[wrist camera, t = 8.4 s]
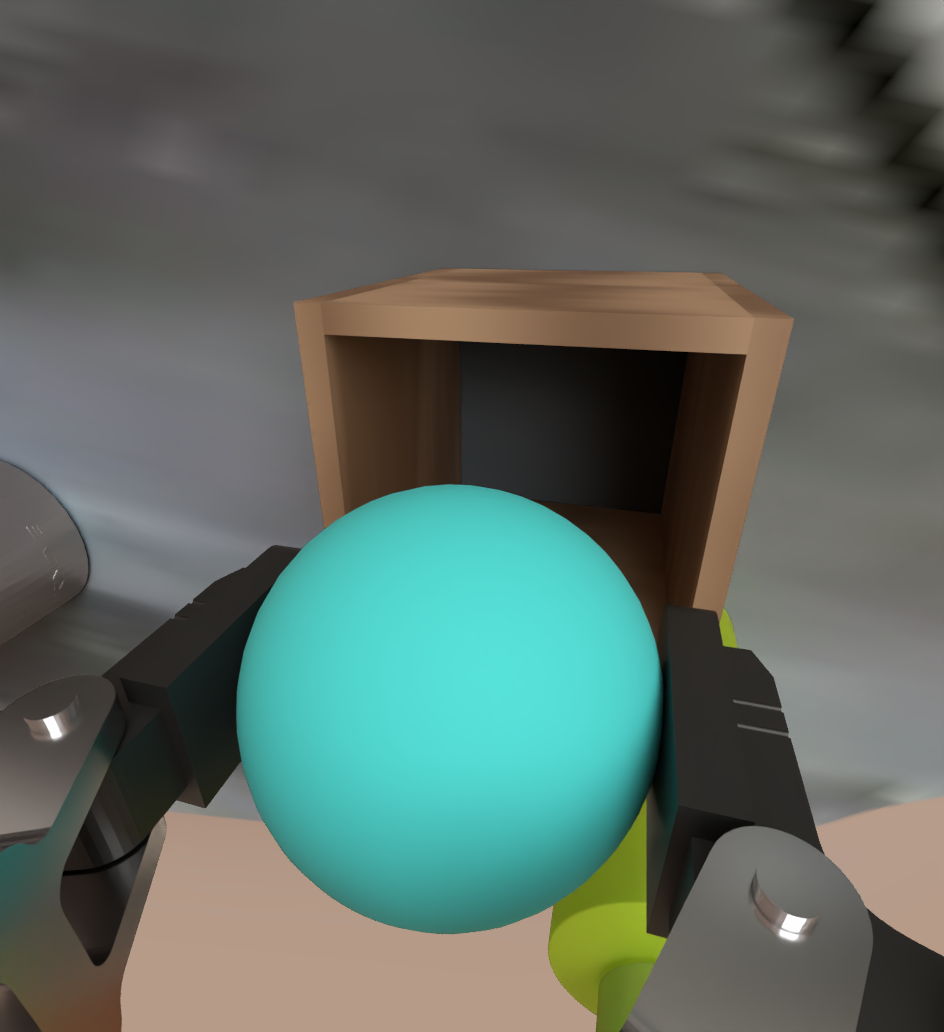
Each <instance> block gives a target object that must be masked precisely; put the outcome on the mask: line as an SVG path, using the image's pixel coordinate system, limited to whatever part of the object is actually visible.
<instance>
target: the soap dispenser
mask: <svg viewBox="0 0 944 1032" xmlns="http://www.w3.org/2000/svg"><path fill="white" fill-rule="evenodd" d="M719 625H720V631H721V636H722V642H723V646H727V647H733V648H737V643H736V639H735V634H734V630H733V626H732V623H731V620H730V618H729V616H728V614H727V612H726V611H725V609H724V608H723V612H722V616H721V620H720V624H719ZM666 940H667V939H666V938H663V937H659V936H655V935H652V934H648V933H646V799H645V801H644V804H643V806H642V808H641V810H640V813H639V815H638V816H637V818H636V820H635V822H634V823H633V825H632V827H631V829H630V830H629V832H628V833H627V835H626V836H625V838H624V839H623V841H622V842H621V843H620V845H619V846H618V848H617V849H616V851H615V852H614V853H613V854H612V855H611V856H610V858H609V859H608V860H607V861H606V862H605V863H604V864H603V865H602V866H601V867H600V868H599V869H598V870H597V871H596V872H595V873H594V874H593V875H592V876H591V877H590V878H589V879H588V880H587V881H586V882H585V883H584V884H583V885H581V886H580V887H579V888H577V889H576V890H575V891H574V892H572V893H571V894H569V895H568V896H566V897H565V898H563V899H562V900H560V901H559V902H557V903H556V904H554V905H553V913H552V921H551V928H550V936H549V944H548V954H549V960H550V964H551V966H552V969H553V971H554V973H555V975H556V977H557V978H558V980H559V981H560V983H561V984H562V985H563V987H564V988H565V989H566V990H567V991H568V992H569V993H570V995H572V996H573V997H574V998H575V999H576V1000H577V1001H578V1002H579V1003H580V1004H582V1005H583V1006H584V1007H585V1008H587V1009H588V1010H589V1011H591V1012H592V1013H594V1014H595V1015H597V1023H596V1032H619V1031H620V1030H621V1028H622V1027H623V1025H624V1024H625V1022H626V1020H627V1018H628V1016H629V1014H630V1012H631V1011H632V1009H633V1007H634V1005H635V1003H636V1001H637V998H638V996H639V994H640V992H641V990H642V988H643V986H644V984H645V982H646V980H647V978H648V976H649V974H650V972H651V970H652V968H653V966H654V964H655V962H656V960H657V958H658V956H659V954H660V952H661V950H662V948H663V946H664V944H665V942H666Z"/></svg>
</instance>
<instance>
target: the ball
mask: <svg viewBox="0 0 944 1032" xmlns="http://www.w3.org/2000/svg"><path fill="white" fill-rule="evenodd" d="M663 699H664V686H663V677H662V670H661V662H660V658H659V654H658V650H657V646H656V642H655V638H654V636H653V633H652V630H651V627H650V625H649V622H648V620H647V617H646V615H645V613H644V610H643V608H642V605H641V603H640V601H639V599H638V598H637V596H636V594H635V593H634V591H633V589H632V588H631V586H630V584H629V583H628V581H627V580H626V578H625V577H624V575H623V574H622V572H621V571H620V569H619V568H618V567H617V566H616V564H615V563H614V562H613V561H612V560H611V558H610V557H609V556H608V555H607V553H606V552H605V551H604V550H603V549H602V548H601V547H600V546H599V545H598V544H597V543H596V542H594V541H593V540H592V539H591V538H590V537H589V536H588V535H587V534H586V533H584V532H583V531H582V530H580V529H579V528H578V527H576V526H575V525H574V524H572V523H571V522H570V521H568V520H567V519H565V518H564V517H562V516H560V515H559V514H557V513H555V512H553V511H552V510H550V509H548V508H546V507H545V506H543V505H540V504H538V503H536V502H533V501H531V500H529V499H526V498H524V497H521V496H518V495H515V494H511V493H508V492H504V491H501V490H496V489H491V488H485V487H479V486H473V485H453V484H446V485H434V486H424V487H420V488H415V489H410V490H406V491H401V492H397V493H392V494H389V495H387V496H384V497H381V498H379V499H376V500H373V501H371V502H369V503H367V504H365V505H363V506H361V507H359V508H357V509H355V510H353V511H351V512H349V513H348V514H346V515H344V516H342V517H341V518H339V519H337V520H336V521H335V522H333V523H332V524H331V525H330V526H328V527H327V528H326V529H324V530H323V531H322V532H321V533H320V534H318V535H317V536H316V537H315V538H313V539H312V540H311V541H310V542H308V543H307V544H306V545H305V546H304V547H303V548H302V550H301V551H300V552H299V553H298V554H297V555H296V557H295V558H294V559H293V560H292V561H291V562H290V564H289V565H288V566H287V567H286V568H285V569H284V570H283V572H282V573H281V574H280V575H279V577H278V578H277V580H276V582H275V584H274V585H273V587H272V589H271V590H270V592H269V594H268V595H267V597H266V599H265V601H264V602H263V604H262V606H261V607H260V609H259V611H258V613H257V616H256V619H255V621H254V624H253V626H252V629H251V632H250V635H249V637H248V640H247V643H246V646H245V649H244V653H243V658H242V663H241V668H240V673H239V680H238V686H237V706H236V722H237V737H238V743H239V749H240V755H241V761H242V766H243V771H244V774H245V777H246V780H247V783H248V786H249V788H250V791H251V794H252V797H253V799H254V802H255V805H256V807H257V810H258V812H259V814H260V816H261V818H262V820H263V821H264V823H265V825H266V826H267V828H268V829H269V831H270V832H271V834H272V835H273V837H274V839H275V840H276V842H277V843H278V845H279V846H280V848H281V850H282V851H283V852H284V853H285V855H286V856H287V857H288V858H289V859H290V861H291V862H292V863H293V864H294V865H295V866H296V867H297V868H298V869H299V870H300V871H301V872H302V873H303V874H304V875H305V876H306V877H307V878H309V880H311V881H312V882H313V883H314V884H315V885H316V886H317V887H319V888H320V889H321V890H322V891H324V892H325V893H326V894H327V895H329V896H330V897H332V898H333V899H335V900H336V901H338V902H339V903H341V904H342V905H344V906H346V907H347V908H349V909H351V910H353V911H355V912H357V913H359V914H361V915H363V916H365V917H368V918H370V919H373V920H375V921H378V922H381V923H384V924H387V925H390V926H394V927H398V928H403V929H408V930H414V931H420V932H426V933H436V934H459V933H469V932H476V931H483V930H490V929H494V928H499V927H503V926H506V925H509V924H512V923H514V922H517V921H520V920H522V919H525V918H527V917H530V916H533V915H535V914H538V913H540V912H541V911H543V910H545V909H547V908H549V907H551V906H553V905H554V904H556V903H557V902H559V901H560V900H562V899H563V898H565V897H566V896H568V895H569V894H571V893H572V892H574V891H575V890H576V889H577V888H579V887H580V886H581V885H583V884H584V883H585V882H586V881H587V880H588V879H589V878H590V877H591V876H592V875H593V874H594V873H595V872H596V871H597V870H598V869H599V868H600V867H601V866H602V865H603V864H604V863H605V862H606V861H607V860H608V859H609V858H610V856H611V855H612V854H613V853H614V852H615V851H616V849H617V848H618V846H619V845H620V843H621V842H622V841H623V839H624V838H625V836H626V835H627V833H628V832H629V830H630V829H631V827H632V825H633V823H634V822H635V820H636V818H637V816H638V815H639V813H640V810H641V808H642V806H643V804H644V801H645V799H646V797H647V795H648V792H649V790H650V787H651V784H652V781H653V778H654V775H655V771H656V767H657V763H658V756H659V749H660V742H661V736H662V724H663Z"/></svg>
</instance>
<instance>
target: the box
mask: <svg viewBox="0 0 944 1032" xmlns="http://www.w3.org/2000/svg"><path fill="white" fill-rule="evenodd" d="M293 303H294V310H295V318H296V325H297V333H298V340H299V347H300V355H301V362H302V369H303V377H304V384H305V391H306V399H307V406H308V413H309V421H310V428H311V435H312V443H313V450H314V457H315V465H316V472H317V479H318V487H319V494H320V501H321V509H322V516H323V523H324V529H326V528H327V527H328V526H330V525H331V524H332V523H333V522H335V521H336V520H337V519H339V518H341V517H342V516H344V515H346V514H348V513H349V512H351V511H353V510H355V509H357V508H359V507H361V506H363V505H365V504H367V503H369V502H371V501H373V500H376V499H379V498H381V497H384V496H387V495H389V494H392V493H397V492H401V491H406V490H410V489H415V488H420V487H424V486H434V485H446V484H453V485H461V399H460V341H471V342H492V343H513V344H534V345H556V346H577V347H598V348H619V349H640V350H661V351H682V352H688V355H687V361H686V367H685V373H684V379H683V385H682V391H681V397H680V403H679V409H678V415H677V421H676V427H675V432H674V438H673V444H672V450H671V456H670V462H669V468H668V474H667V480H666V486H665V492H664V498H663V504H662V510H661V514H655V513H646V512H637V511H628V510H619V509H610V508H601V507H592V506H582V505H573V504H564V503H555V502H546V501H537V500H531V501H533V502H536V503H538V504H540V505H543V506H545V507H546V508H548V509H550V510H552V511H553V512H555V513H557V514H559V515H560V516H562V517H564V518H565V519H567V520H568V521H570V522H571V523H572V524H574V525H575V526H576V527H578V528H579V529H580V530H582V531H583V532H584V533H586V534H587V535H588V536H589V537H590V538H591V539H592V540H593V541H594V542H596V543H597V544H598V545H599V546H600V547H601V548H602V549H603V550H604V551H605V552H606V553H607V555H608V556H609V557H610V558H611V560H612V561H613V562H614V563H615V564H616V566H617V567H618V568H619V569H620V571H621V572H622V574H623V575H624V577H625V578H626V580H627V581H628V583H629V584H630V586H631V588H632V589H633V591H634V593H635V594H636V596H637V598H638V599H639V601H640V603H641V605H642V608H643V610H644V613H645V615H646V617H647V620H648V622H649V625H650V627H651V630H652V633H653V636H654V638H655V642H656V644H657V639H658V633H659V628H660V623H661V617H662V612H663V609H664V606H665V604H672V605H679V606H685V607H692V608H699V609H706V610H712V611H716V612H717V615H718V620H719V624H720V620H721V616H722V612H723V608H724V604H725V600H726V596H727V591H728V587H729V583H730V579H731V575H732V571H733V567H734V563H735V559H736V555H737V551H738V547H739V542H740V538H741V534H742V530H743V526H744V522H745V518H746V514H747V510H748V506H749V502H750V498H751V493H752V489H753V485H754V481H755V477H756V473H757V469H758V465H759V461H760V457H761V453H762V448H763V444H764V440H765V436H766V432H767V428H768V424H769V420H770V416H771V412H772V408H773V404H774V399H775V395H776V391H777V387H778V383H779V379H780V375H781V371H782V367H783V363H784V359H785V355H786V350H787V346H788V342H789V338H790V334H791V330H792V326H793V322H794V319H793V318H791V317H790V316H788V315H787V314H785V313H783V312H782V311H780V310H779V309H777V308H776V307H774V306H772V305H771V304H769V303H768V302H766V301H765V300H763V299H761V298H760V297H758V296H757V295H755V294H754V293H752V292H750V291H749V290H747V289H746V288H744V287H743V286H741V285H739V284H738V283H736V282H735V281H733V280H731V279H730V278H728V277H727V276H725V275H724V274H722V273H685V272H627V271H569V270H511V269H453V268H442V269H438V270H433V271H429V272H424V273H420V274H416V275H411V276H407V277H403V278H398V279H394V280H389V281H385V282H381V283H376V284H372V285H367V286H363V287H359V288H354V289H350V290H346V291H341V292H337V293H332V294H328V295H324V296H319V297H315V298H310V299H306V300H302V301H297V302H293Z"/></svg>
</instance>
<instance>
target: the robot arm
mask: <svg viewBox="0 0 944 1032" xmlns="http://www.w3.org/2000/svg"><path fill="white" fill-rule="evenodd" d="M301 550H302V549H299V548H292V547H285V546H278V545H274V546H272V547H270V548H268V549H267V550H266V551H265V552H264V553H263V554H261V555H260V556H259V557H258V558H257V559H256V560H254V561H253V562H252V563H251V564H250V565H249V566H248V567H246V568H242V569H239V570H237V571H235V572H233V573H231V574H229V575H227V576H225V577H223V578H221V579H219V580H217V581H215V582H213V583H212V584H211V585H210V586H209V587H207V588H206V589H205V590H204V591H203V592H202V593H200V594H199V595H198V596H197V597H196V598H194V599H193V603H192V604H190V603H188V604H187V605H186V606H185V607H184V608H182V609H181V610H180V611H179V612H178V613H176V614H175V618H174V619H169V620H168V621H167V622H166V623H164V624H163V625H162V626H161V627H160V628H158V629H157V630H156V631H155V632H154V633H152V634H151V635H150V636H149V637H148V638H146V639H145V640H144V641H143V642H142V643H140V644H139V645H138V646H137V647H136V648H134V649H133V650H132V651H131V652H130V653H128V654H127V655H126V656H125V657H124V658H122V659H121V660H120V661H119V662H118V663H116V664H115V665H114V666H113V667H112V668H110V669H109V670H108V671H107V672H106V673H104V674H103V675H102V676H101V677H100V676H96V675H76V676H70V677H65V678H61V679H57V680H54V681H51V682H48V683H46V684H43V685H41V686H39V687H36V688H34V689H33V690H31V691H29V692H27V693H25V694H24V695H22V696H20V697H19V698H17V699H16V700H14V701H13V702H12V703H11V704H9V705H8V706H7V707H6V708H5V709H4V710H2V711H0V1032H121V1026H122V1017H121V1004H120V996H121V985H122V979H123V974H124V971H125V967H126V964H127V960H128V957H129V954H130V950H131V947H132V944H133V941H134V937H135V934H136V931H137V928H138V924H139V922H140V918H141V915H142V912H143V908H144V905H145V902H146V899H147V895H148V892H149V889H150V886H151V882H152V879H153V876H154V873H155V870H156V866H157V863H158V860H159V857H160V853H161V850H162V847H163V843H164V840H165V836H166V822H165V818H164V814H165V813H166V812H167V811H168V809H169V808H170V807H171V806H172V805H173V803H174V802H175V801H176V800H177V801H181V802H185V803H188V804H192V805H196V806H199V807H203V808H206V807H207V806H208V804H209V803H210V802H211V800H212V799H213V798H214V796H215V795H216V794H217V792H218V791H219V790H220V788H221V787H222V786H223V784H224V783H225V782H226V780H227V779H228V778H229V776H230V775H231V774H232V772H233V771H234V770H235V768H236V767H237V766H238V764H239V763H240V762H241V755H240V749H239V743H238V737H237V722H236V706H237V686H238V680H239V673H240V668H241V663H242V658H243V653H244V649H245V646H246V643H247V640H248V637H249V635H250V632H251V629H252V626H253V624H254V621H255V619H256V616H257V613H258V611H259V609H260V607H261V606H262V604H263V602H264V601H265V599H266V597H267V595H268V594H269V592H270V590H271V589H272V587H273V585H274V584H275V582H276V580H277V578H278V577H279V575H280V574H281V573H282V572H283V570H284V569H285V568H286V567H287V566H288V565H289V564H290V562H291V561H292V560H293V559H294V558H295V557H296V555H297V554H298V553H299V552H300V551H301ZM87 576H88V558H87V554H86V550H85V546H84V543H83V541H82V539H81V536H80V534H79V532H78V530H77V528H76V526H75V524H74V523H73V521H72V520H71V518H70V517H69V515H68V513H67V512H66V511H65V509H64V508H63V507H62V506H61V505H60V503H59V502H58V501H57V500H56V499H55V497H54V496H53V495H52V494H51V493H50V492H48V491H47V490H46V489H45V488H44V487H43V486H42V485H41V484H40V483H39V482H37V481H36V480H35V479H33V478H32V477H31V476H29V475H28V474H26V473H25V472H24V471H22V470H20V469H18V468H16V467H14V466H12V465H10V464H9V463H6V462H3V461H0V645H2V644H3V643H5V642H6V641H8V640H9V639H11V638H13V637H14V636H16V635H17V634H19V633H20V632H22V631H23V630H25V629H26V628H28V627H29V626H31V625H32V624H34V623H35V622H37V621H38V620H40V619H42V618H43V617H45V616H46V615H48V614H49V613H51V612H52V611H54V610H55V609H57V608H58V607H60V606H61V605H63V604H64V603H66V602H67V601H69V600H70V599H72V598H73V597H75V596H76V595H77V594H78V593H80V592H81V590H82V589H83V587H84V586H85V584H86V581H87ZM656 646H657V650H658V654H659V658H660V662H661V670H662V677H663V686H664V699H663V724H662V736H661V742H660V749H659V756H658V763H657V767H656V771H655V775H654V778H653V781H652V784H651V787H650V790H649V792H648V795H647V797H646V933H648V934H652V935H655V936H659V937H663V938H666V939H667V940H666V942H665V944H664V946H663V948H662V950H661V952H660V954H659V956H658V958H657V960H656V962H655V964H654V966H653V968H652V970H651V972H650V974H649V976H648V978H647V980H646V982H645V984H644V986H643V988H642V990H641V992H640V994H639V996H638V998H637V1001H636V1003H635V1005H634V1007H633V1009H632V1011H631V1012H630V1014H629V1016H628V1018H627V1020H626V1022H625V1024H624V1025H623V1027H622V1028H621V1030H620V1031H619V1032H944V957H943V956H942V955H940V954H938V953H936V952H934V951H932V950H930V949H928V948H927V947H925V946H923V945H921V944H919V943H917V942H915V941H913V940H912V939H910V938H908V937H907V936H905V935H903V934H901V933H900V932H898V931H896V930H895V929H893V928H892V927H890V926H889V925H888V924H886V923H885V922H883V921H882V920H880V919H879V918H878V917H877V916H875V915H874V914H873V913H872V912H871V911H870V910H868V909H867V908H866V907H865V905H864V903H863V901H862V899H861V897H860V895H859V894H858V892H857V890H856V889H855V887H854V886H853V884H852V883H851V882H850V880H849V879H848V878H847V877H846V875H845V874H844V873H843V872H842V871H841V870H840V869H839V868H838V867H837V866H836V865H835V864H834V863H833V862H832V861H831V860H830V859H829V858H828V857H826V856H825V854H824V852H823V850H822V847H821V844H820V841H819V838H818V835H817V831H816V827H815V824H814V820H813V817H812V813H811V810H810V806H809V802H808V799H807V795H806V792H805V788H804V785H803V781H802V777H801V774H800V770H799V767H798V763H797V760H796V756H795V752H794V749H793V745H792V742H791V738H788V732H789V731H788V728H787V724H786V720H785V717H784V713H783V712H781V707H782V706H781V703H780V699H779V695H778V692H777V688H776V685H775V681H774V678H773V676H772V675H771V674H770V673H769V671H768V670H767V669H766V668H765V667H764V665H763V664H762V663H761V662H760V661H759V659H758V658H757V657H756V656H755V654H754V653H753V652H752V651H751V650H746V649H739V648H733V647H727V646H723V642H722V636H721V631H720V625H719V620H718V615H717V612H716V611H712V610H706V609H699V608H692V607H685V606H679V605H672V604H665V606H664V609H663V612H662V617H661V623H660V628H659V633H658V639H657V644H656Z"/></svg>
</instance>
